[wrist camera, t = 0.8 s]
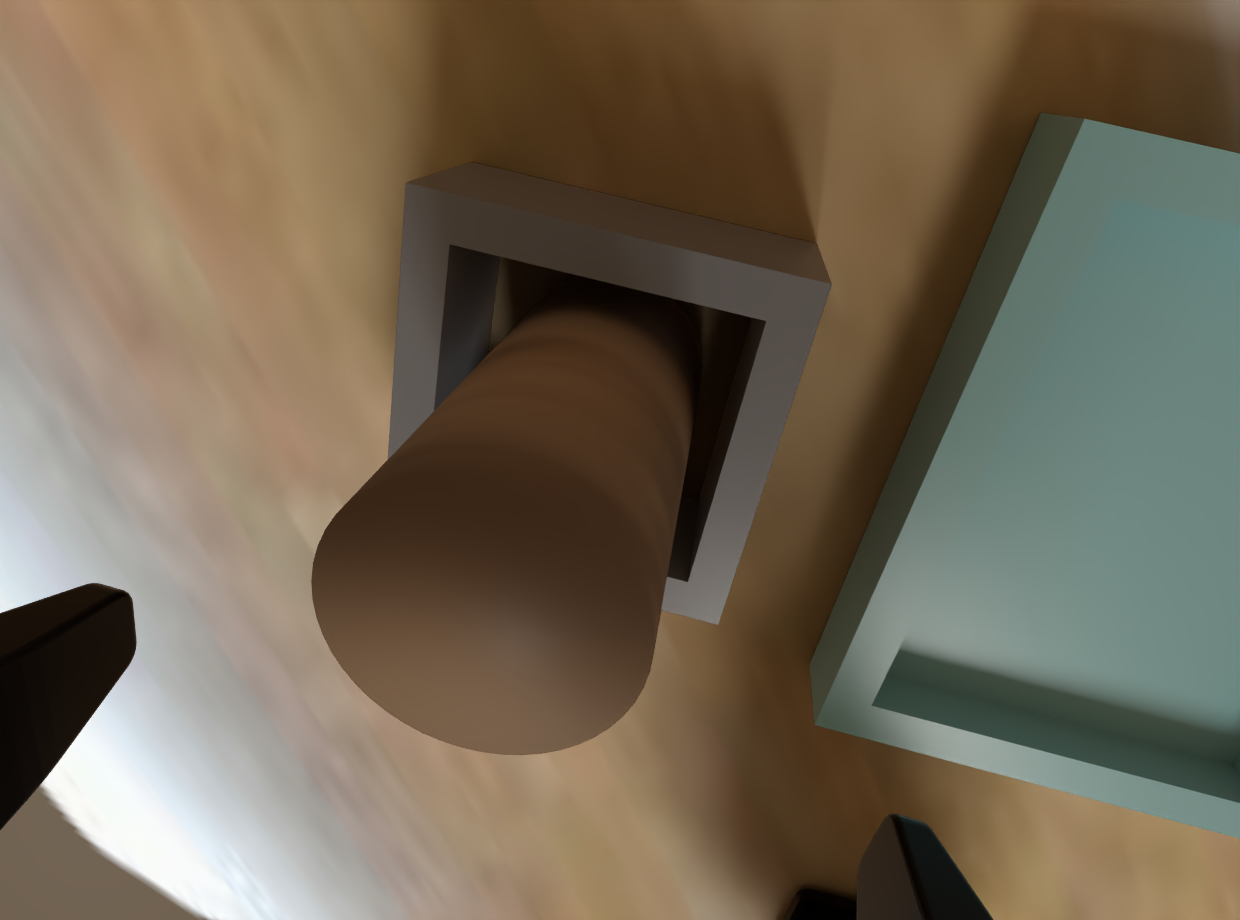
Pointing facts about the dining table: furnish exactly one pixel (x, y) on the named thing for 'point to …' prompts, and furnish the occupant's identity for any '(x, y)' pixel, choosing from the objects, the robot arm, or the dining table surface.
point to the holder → (631, 257)
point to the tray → (1070, 496)
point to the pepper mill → (523, 531)
